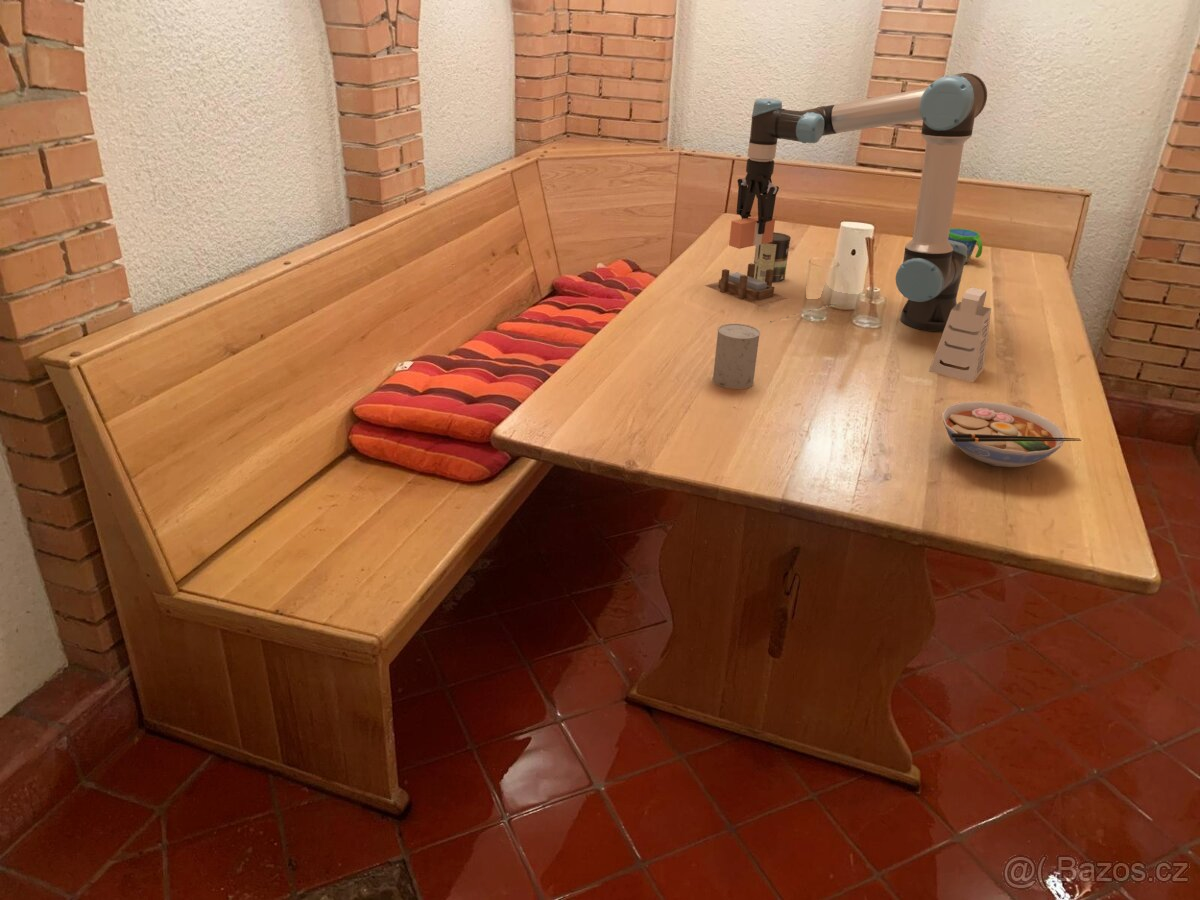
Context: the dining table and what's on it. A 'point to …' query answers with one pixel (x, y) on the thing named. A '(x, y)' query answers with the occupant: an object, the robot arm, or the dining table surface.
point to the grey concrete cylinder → (736, 356)
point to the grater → (964, 338)
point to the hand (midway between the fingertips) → (750, 242)
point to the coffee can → (772, 257)
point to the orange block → (749, 232)
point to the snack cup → (967, 240)
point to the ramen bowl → (1002, 433)
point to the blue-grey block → (748, 281)
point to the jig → (743, 291)
